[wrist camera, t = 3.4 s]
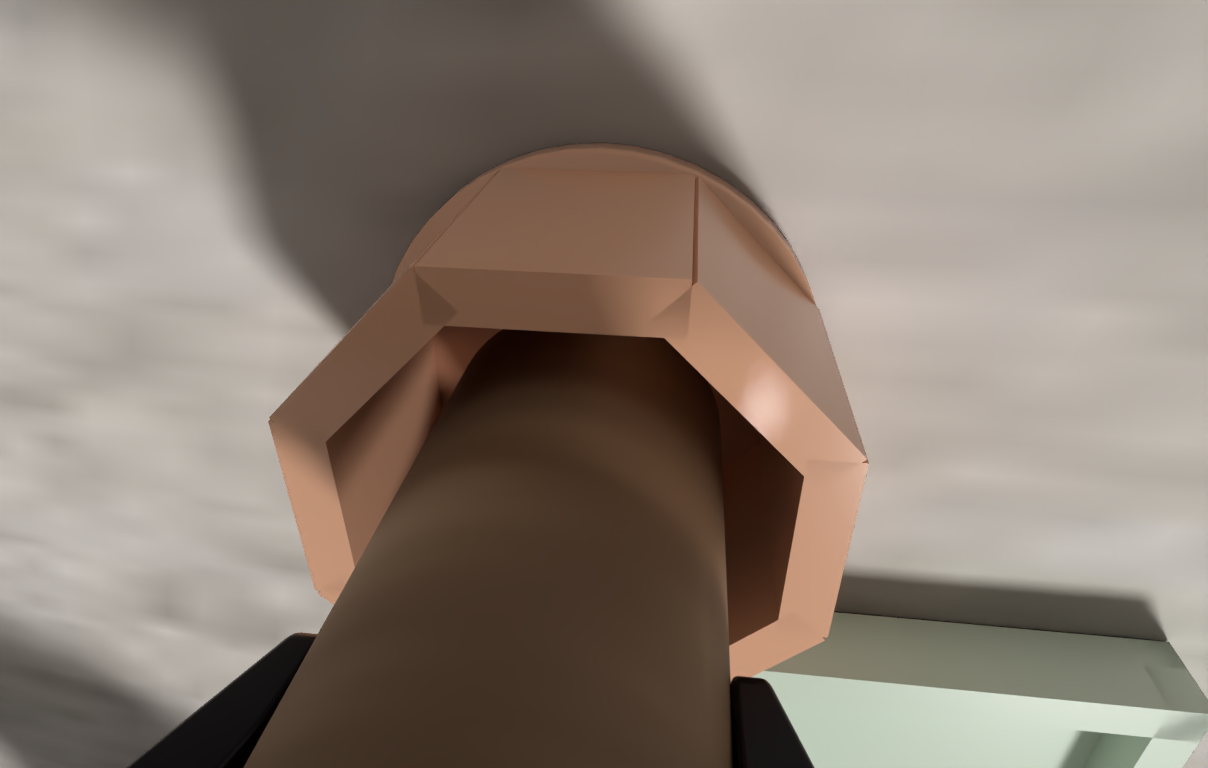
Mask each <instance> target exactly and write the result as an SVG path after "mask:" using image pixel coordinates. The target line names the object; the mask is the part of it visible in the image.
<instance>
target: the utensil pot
mask: <svg viewBox="0 0 1208 768" xmlns="http://www.w3.org/2000/svg"><path fill="white" fill-rule="evenodd" d="M502 329H512V330H530V331H548V332H566V333H584V334H602V335H620V336H638V337H656V338H665V339H666V340H667V341H668V342H669V343H670V344H671V345H672V346H673V347H674V348H675V349H676V350H677V351H678V352H679V353H680V354H681V355H682V356H683V357H684V358H685V359H686V360H687V361H688V362H689V363H690V364H691V365H692V366H693V367H694V368H695V369H696V370H697V371H698V372H699V373H700V374H701V375H702V376H703V377H704V378H705V379H706V380H707V381H708V383H709V385H710V387H711V389H712V391H713V393H714V396H715V400H716V403H717V406H718V410H719V417H720V426H721V451H722V476H723V502H724V527H725V552H726V577H727V603H728V628H729V653H730V679H731V681H732V679H733V678H734V677H736V676H744V677H752V676H754V675H756V674H758V673H760V672H762V671H764V670H766V669H768V668H771V667H773V666H775V665H777V664H779V663H781V662H783V661H785V660H787V659H789V658H791V657H793V656H795V655H797V654H799V653H801V652H803V651H805V650H807V649H809V648H811V647H813V646H815V645H817V644H819V643H821V642H823V641H825V637H826V638H828V635H829V630H830V626H831V622H832V618H833V613H834V609H835V605H836V601H837V596H838V592H839V588H840V584H841V579H842V575H843V571H844V567H845V562H846V558H847V554H848V550H849V545H850V541H851V537H852V533H853V528H854V524H855V520H856V516H857V512H858V507H859V503H860V499H861V495H862V490H863V486H864V482H865V478H866V473H867V469H868V465H869V463H868V459H867V456H866V453H865V450H864V447H863V444H862V440H861V437H860V434H859V431H858V428H857V425H856V422H855V419H854V416H853V413H852V410H851V406H850V403H849V400H848V397H847V394H846V391H845V388H844V385H843V382H842V379H841V376H840V372H839V369H838V366H837V363H836V360H835V357H834V354H833V351H832V348H831V345H830V342H829V338H828V335H827V332H826V329H825V326H824V323H823V320H822V317H821V314H820V311H819V309H818V308H817V306H816V304H815V301H814V298H813V295H812V292H811V289H810V286H809V284H808V281H807V278H806V276H805V273H804V270H803V268H802V266H801V264H800V263H799V261H798V259H797V257H796V255H795V254H794V252H793V250H792V248H791V246H790V244H789V243H788V242H787V240H786V239H785V238H784V236H783V235H782V234H781V232H780V231H779V230H778V228H777V227H776V226H775V225H774V223H773V222H772V221H771V220H770V219H769V218H768V217H767V216H766V215H765V214H764V213H763V212H762V211H761V210H760V209H759V208H758V207H757V206H756V205H755V204H754V203H753V202H752V201H751V200H750V199H749V198H748V197H746V196H745V195H744V194H742V193H741V192H740V191H738V190H737V189H736V188H734V187H733V186H731V185H730V184H729V183H727V182H726V181H725V180H723V179H721V178H719V177H718V176H716V175H714V174H712V173H710V172H708V171H707V170H705V169H703V168H701V167H699V166H697V165H695V164H693V163H690V162H687V161H685V160H682V159H680V158H677V157H674V156H672V155H669V154H667V153H663V152H658V151H654V150H650V149H646V148H641V147H637V146H630V145H620V144H610V143H586V144H569V145H563V146H557V147H552V148H546V149H540V150H537V151H534V152H531V153H528V154H525V155H522V156H519V157H516V158H513V159H510V160H508V161H506V162H504V163H502V164H500V165H498V166H496V167H494V168H492V169H490V170H488V171H486V172H484V173H483V174H481V175H480V176H479V177H477V178H476V179H474V180H473V181H471V182H470V183H468V184H467V185H465V186H464V187H463V188H461V189H460V190H459V191H458V192H457V193H456V194H455V195H454V196H453V197H452V198H451V199H450V200H449V201H447V202H446V203H445V204H444V205H443V206H442V207H441V208H440V209H439V210H438V211H437V212H436V213H435V214H434V215H433V216H432V217H431V218H430V219H429V220H428V221H427V223H426V224H425V225H424V227H423V228H422V229H421V230H420V232H419V233H418V234H417V236H416V237H415V238H414V239H413V241H412V242H411V244H410V246H409V247H408V249H407V251H406V253H405V255H404V256H403V258H402V260H401V262H400V264H399V265H398V268H397V271H396V274H395V276H394V279H393V282H392V284H391V285H390V287H389V288H388V289H387V290H386V291H385V292H384V293H383V294H382V295H381V296H380V297H379V299H378V300H377V301H376V302H375V303H374V304H373V305H372V306H371V307H370V308H369V309H368V311H367V312H366V313H365V314H364V315H363V316H362V317H361V318H360V319H359V320H358V321H357V323H356V324H355V325H354V326H353V327H352V328H351V329H350V330H349V331H348V332H347V333H346V335H345V336H344V337H343V338H342V339H341V340H340V341H339V342H338V343H337V344H336V345H335V347H334V348H333V349H332V350H331V351H330V352H329V353H328V354H327V355H326V356H325V357H324V359H323V360H322V361H321V362H320V363H319V364H318V365H317V366H316V367H315V368H314V369H313V371H312V372H311V373H310V374H309V375H308V376H307V377H306V378H305V379H304V380H303V381H302V383H301V384H300V385H299V386H298V387H297V388H296V389H295V390H294V391H293V392H292V393H291V395H290V396H289V397H288V398H287V399H286V400H285V401H284V402H283V403H282V404H281V405H280V407H279V408H278V409H277V410H276V411H275V412H274V413H273V414H272V415H271V416H270V417H269V418H270V420H269V421H268V422H269V425H270V429H271V433H272V436H273V440H274V443H275V447H276V451H277V454H278V458H279V461H280V465H281V469H282V472H283V476H284V479H285V483H286V487H287V490H288V494H289V497H290V501H291V505H292V508H293V512H294V515H295V519H296V523H297V526H298V530H299V533H300V537H301V541H302V544H303V548H304V551H305V555H306V559H307V562H308V566H309V569H310V573H311V577H312V580H313V584H314V587H315V590H317V591H319V592H318V594H319V595H321V596H322V597H324V598H325V599H327V600H328V601H329V602H331V603H332V604H335V603H336V601H337V599H338V597H339V595H340V594H341V592H342V590H343V588H344V586H345V585H346V583H347V581H348V579H349V577H350V576H351V574H352V572H353V570H354V568H355V567H356V565H357V563H358V561H359V560H360V558H361V556H362V554H363V552H364V551H365V549H366V547H367V545H368V543H369V542H370V540H371V538H372V536H373V534H374V533H375V531H376V529H377V527H378V525H379V524H380V522H381V520H382V518H383V516H384V515H385V513H386V511H387V509H388V507H389V506H390V504H391V502H392V500H393V499H394V497H395V495H396V493H397V491H398V490H399V488H400V486H401V484H402V482H403V481H404V479H405V477H406V475H407V473H408V472H409V470H410V468H411V466H412V464H413V463H414V461H415V459H416V457H417V455H418V454H419V452H420V450H421V448H422V447H423V445H424V443H425V441H426V439H427V438H428V436H429V434H430V432H431V430H432V429H433V427H434V425H435V423H436V421H437V420H438V418H439V416H440V414H441V412H442V411H443V409H444V407H445V405H446V403H447V402H448V400H449V398H450V396H451V395H452V393H453V391H454V389H455V387H456V386H457V384H458V382H459V380H460V378H461V377H462V375H463V373H464V371H465V369H466V368H467V366H468V364H469V363H470V361H471V360H472V358H473V357H474V355H475V354H476V352H477V351H478V350H479V349H480V348H481V347H482V346H483V345H484V344H485V343H486V342H487V341H488V340H489V339H490V338H492V337H493V336H494V335H495V334H497V333H498V332H499V331H501V330H502Z"/></svg>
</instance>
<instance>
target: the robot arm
mask: <svg viewBox="0 0 1208 768" xmlns="http://www.w3.org/2000/svg"><path fill="white" fill-rule="evenodd" d="M317 635H318V634H310V633H295V634H293V635H291V636H289V637H287V638H286V639H285V640H283V641H282V642H281V643H280V644H278V645H277V646H276V647H275V648H274V649H272V650H271V651H270V652H269V653H267V654H266V655H265V656H264V657H262V658H261V659H260V660H259V661H257V662H256V663H255V664H254V665H252V666H251V667H250V668H249V669H248V670H246V671H245V672H244V673H243V674H241V675H240V676H239V677H238V678H236V679H235V680H234V681H233V682H231V683H230V684H229V685H228V686H226V687H225V688H224V689H223V690H222V691H220V692H219V693H218V694H217V695H215V696H214V697H213V698H212V699H210V700H209V701H208V702H207V703H205V704H204V705H203V706H202V707H200V708H199V709H198V710H197V711H196V712H194V713H193V714H192V715H191V716H189V717H188V718H187V719H186V720H184V721H183V722H182V723H181V724H179V725H178V726H177V727H176V728H174V729H173V730H172V731H171V732H170V733H168V734H167V735H166V736H165V737H163V738H162V739H161V740H160V741H158V742H157V743H156V744H155V745H153V746H152V747H151V748H150V749H149V750H147V751H146V752H145V753H144V754H142V755H141V756H140V757H139V758H137V759H136V760H135V761H134V762H132V763H131V764H130V765H129V766H127V767H126V768H244V766H245V764H246V762H247V760H248V759H249V757H250V755H251V753H252V751H253V750H254V748H255V746H256V744H257V742H258V741H259V739H260V737H261V735H262V733H263V732H264V730H265V728H266V726H267V725H268V723H269V721H270V719H271V717H272V716H273V714H274V712H275V710H276V708H277V707H278V705H279V703H280V701H281V699H282V698H283V696H284V694H285V692H286V690H287V689H288V687H289V685H290V683H291V681H292V680H293V678H294V676H295V674H296V672H297V671H298V669H299V667H300V665H301V664H302V662H303V660H304V658H305V656H306V655H307V653H308V651H309V649H310V647H311V646H312V644H313V642H314V640H315V638H316V637H317ZM731 704H732V729H733V755H734V768H815V767H814V765H813V764H812V762H811V760H810V758H809V756H808V754H807V752H806V750H805V748H804V746H803V745H802V743H801V741H800V739H799V737H798V735H797V733H796V731H795V729H794V727H793V726H792V724H791V722H790V720H789V718H788V716H787V714H786V712H785V710H784V708H783V707H782V705H781V703H780V701H779V699H778V697H777V695H776V693H775V691H774V689H773V688H772V686H771V685H770V683H769V682H768V681H767V680H765V679H763V678H754V677H744V676H736V677H734V678H733V679H732V681H731Z"/></svg>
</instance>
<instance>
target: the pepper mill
mask: <svg viewBox="0 0 1208 768" xmlns="http://www.w3.org/2000/svg"><path fill="white" fill-rule="evenodd" d="M244 768H734V755H733V729H732V704H731V679H730V653H729V628H728V603H727V577H726V552H725V527H724V502H723V476H722V451H721V426H720V417H719V410H718V406H717V403H716V400H715V396H714V393H713V391H712V389H711V387H710V385H709V383H708V381H707V380H706V379H705V378H704V377H703V376H702V375H701V374H700V373H699V372H698V371H697V370H696V369H695V368H694V367H693V366H692V365H691V364H690V363H689V362H688V361H687V360H686V359H685V358H684V357H683V356H682V355H681V354H680V353H679V352H678V351H677V350H676V349H675V348H674V347H673V346H672V345H671V344H670V343H669V342H668V341H667V340H666V339H665V338H656V337H638V336H620V335H602V334H584V333H566V332H548V331H530V330H512V329H502V330H501V331H499V332H498V333H497V334H495V335H494V336H493V337H492V338H490V339H489V340H488V341H487V342H486V343H485V344H484V345H483V346H482V347H481V348H480V349H479V350H478V351H477V352H476V354H475V355H474V357H473V358H472V360H471V361H470V363H469V364H468V366H467V368H466V369H465V371H464V373H463V375H462V377H461V378H460V380H459V382H458V384H457V386H456V387H455V389H454V391H453V393H452V395H451V396H450V398H449V400H448V402H447V403H446V405H445V407H444V409H443V411H442V412H441V414H440V416H439V418H438V420H437V421H436V423H435V425H434V427H433V429H432V430H431V432H430V434H429V436H428V438H427V439H426V441H425V443H424V445H423V447H422V448H421V450H420V452H419V454H418V455H417V457H416V459H415V461H414V463H413V464H412V466H411V468H410V470H409V472H408V473H407V475H406V477H405V479H404V481H403V482H402V484H401V486H400V488H399V490H398V491H397V493H396V495H395V497H394V499H393V500H392V502H391V504H390V506H389V507H388V509H387V511H386V513H385V515H384V516H383V518H382V520H381V522H380V524H379V525H378V527H377V529H376V531H375V533H374V534H373V536H372V538H371V540H370V542H369V543H368V545H367V547H366V549H365V551H364V552H363V554H362V556H361V558H360V560H359V561H358V563H357V565H356V567H355V568H354V570H353V572H352V574H351V576H350V577H349V579H348V581H347V583H346V585H345V586H344V588H343V590H342V592H341V594H340V595H339V597H338V599H337V601H336V603H335V604H334V606H333V608H332V610H331V612H330V613H329V615H328V617H327V619H326V620H325V622H324V624H323V626H322V628H321V629H320V631H319V633H318V635H317V637H316V638H315V640H314V642H313V644H312V646H311V647H310V649H309V651H308V653H307V655H306V656H305V658H304V660H303V662H302V664H301V665H300V667H299V669H298V671H297V672H296V674H295V676H294V678H293V680H292V681H291V683H290V685H289V687H288V689H287V690H286V692H285V694H284V696H283V698H282V699H281V701H280V703H279V705H278V707H277V708H276V710H275V712H274V714H273V716H272V717H271V719H270V721H269V723H268V725H267V726H266V728H265V730H264V732H263V733H262V735H261V737H260V739H259V741H258V742H257V744H256V746H255V748H254V750H253V751H252V753H251V755H250V757H249V759H248V760H247V762H246V764H245V766H244Z"/></svg>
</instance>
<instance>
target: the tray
mask: <svg viewBox="0 0 1208 768" xmlns="http://www.w3.org/2000/svg"><path fill="white" fill-rule="evenodd" d="M752 677H754V678H763V679H765V680H767V681H768V682H769V683H770V685H771V686H772V688H773V689H774V691H775V693H776V695H777V697H778V699H779V701H780V703H781V705H782V707H783V708H784V710H785V712H786V714H787V716H788V718H789V720H790V722H791V724H792V726H793V727H794V729H795V731H796V733H797V735H798V737H799V739H800V741H801V743H802V745H803V746H804V748H805V750H806V752H807V754H808V756H809V758H810V760H811V762H812V764H813V765H814V767H815V768H1182V767H1183V765H1184V764H1185V762H1186V761H1187V759H1188V758H1189V756H1190V755H1191V754H1192V752H1193V751H1194V749H1195V748H1196V746H1197V745H1198V743H1199V742H1200V741H1201V739H1202V738H1203V736H1204V735H1205V733H1206V732H1207V730H1208V699H1207V698H1206V696H1205V695H1204V693H1203V692H1202V690H1201V689H1200V687H1199V686H1198V684H1197V683H1196V681H1195V680H1194V678H1193V677H1192V675H1191V674H1190V672H1189V671H1188V670H1187V668H1186V667H1185V665H1184V664H1183V662H1182V661H1181V659H1180V658H1179V656H1178V655H1177V653H1176V652H1175V650H1174V649H1173V647H1172V646H1171V644H1170V643H1169V642H1162V641H1151V640H1140V639H1129V638H1118V637H1106V636H1095V635H1084V634H1073V633H1061V632H1050V631H1039V630H1028V629H1017V628H1005V627H994V626H983V625H972V624H960V623H949V622H938V621H927V620H916V619H904V618H893V617H882V616H871V615H860V614H848V613H837V612H834V613H833V618H832V622H831V626H830V630H829V635H828V638H826V637H825V641H823V642H821V643H819V644H817V645H815V646H813V647H811V648H809V649H807V650H805V651H803V652H801V653H799V654H797V655H795V656H793V657H791V658H789V659H787V660H785V661H783V662H781V663H779V664H777V665H775V666H773V667H771V668H768V669H766V670H764V671H762V672H760V673H758V674H756V675H754V676H752Z"/></svg>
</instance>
